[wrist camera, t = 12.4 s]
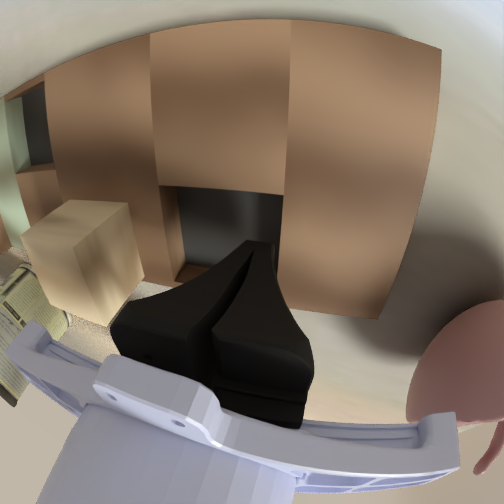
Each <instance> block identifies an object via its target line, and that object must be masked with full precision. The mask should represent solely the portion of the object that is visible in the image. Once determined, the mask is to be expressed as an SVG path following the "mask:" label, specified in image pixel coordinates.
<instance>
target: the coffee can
mask: <svg viewBox="0 0 504 504" xmlns="http://www.w3.org/2000/svg"><path fill="white" fill-rule="evenodd" d="M30 320H34V321H35V322H37V323H39V324H41V325H42V326H44V327H45V328H46V329H47V330H48V332H49V333H50V335H51V336H52V339H54V340H56V341H59V339H60V338H61V337H62V335H63V334H64V333H65V331H66V330H67V329H68V327H70V326H71V324H72V316H71V313H69V312H66V311H64V310H62V309H59V308H57V307H55V306H53V305H51V304H50V302H49V300H48V298H47V297H46V295H45V293H44V291H43V289H42V287H41V285H40V282H39V280H38V278H37V276H36V274H35V272H34V270H33V267H32V265H30V264H27V263H23V264H21V265H20V266H19V267H18V268H17V269H16V270H15V271H14V272H13V273H12V274H11V275H10V276H9V277H8V278H7V279H6V280H5V281H4V282H3V283H2V284H1V285H0V396H1V397H2V398H3V399H4V400H6V401H7V402H8V403H9V404H10V405H11V406H13V407H15V406H16V404H17V401H18V399H19V398H20V396H21V394H22V393H23V391H24V390H25V388H26V386H27V385H28V384H29V381H28V380H27V378H26V377H25V376H24V375H23V374H22V373H21V372H20V371H19V370H18V368H17V367H16V366H15V365H14V364H13V363H12V361H11V360H10V359H9V358H8V357H7V355H6V354H5V351H6V350H7V348H8V347H9V346H10V345H11V343H12V342H13V341H14V339H15V338H16V337H17V336H18V334H19V333H20V332H21V331H22V329H23V328H24V327H25V326H26V325H27V323H28V322H29V321H30Z"/></svg>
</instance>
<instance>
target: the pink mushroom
mask: <svg viewBox="0 0 504 504" xmlns="http://www.w3.org/2000/svg"><path fill="white" fill-rule="evenodd" d="M443 412H455V414H456V421H457V427H460V426H463V425H470V424H479V423H487V422H497V421H499V422H498V425H497V428H496V431H495V433H494V436H493V438H492V441H491V444H490V446H489V448H488V450H487V451H486V453H485V454H484V456H483V457H482V458H481V459H480V460H479V461H478V463H477V464H476V465H475V467H474V470H473V473H474V474H475V475H481V474H483V473H484V472H485V471H486V470H487V468H488V467H489V466H490V465H491V464H492V462H493V461H494V460H495V459H496V458H497V457H498V456H499V454H500V452H501V450H502V448H503V446H504V299H501V300H493V301H488V302H484V303H481V304H478V305H476V306H473V307H471V308H469V309H467V310H466V311H464V312H462V313H461V314H459V315H458V316H456V317H455V318H454V319H453V320H451V321H450V322H449V323H448V324H447V325H446V326H445V327H444V328H443V329H442V330H441V331H440V332H439V333H438V334H437V335H436V336H435V337H434V339H433V340H432V341H431V343H430V344H429V345H428V347H427V348H426V350H425V352H424V353H423V355H422V357H421V359H420V360H419V362H418V365H417V367H416V369H415V372H414V374H413V377H412V380H411V383H410V387H409V391H408V396H407V404H406V419H407V421H408V422H409V423H418V422H419V421H420V420H421V419H422V418H423V417H425V416H427V415H429V414H433V413H443Z"/></svg>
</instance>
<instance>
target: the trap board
mask: <svg viewBox="0 0 504 504" xmlns="http://www.w3.org/2000/svg"><path fill="white" fill-rule="evenodd" d="M441 53H442V50H441V49H438V48H436V47H433V46H430V45H427V44H424V43H421V42H418V41H415V40H412V39H408V38H405V37H401V36H397V35H394V34H390V33H385V32H381V31H377V30H372V29H367V28H362V27H356V26H350V25H344V24H337V23H329V22H320V21H308V20H290V19H250V20H233V21H221V22H212V23H204V24H196V25H190V26H184V27H178V28H173V29H168V30H163V31H159V32H154V33H150V34H146V35H142V36H138V37H135V38H131V39H128V40H124V41H121V42H118V43H115V44H112V45H109V46H106V47H103V48H100V49H97V50H95V51H92V52H89V53H87V54H84V55H82V56H79V57H77V58H75V59H72V60H70V61H68V62H66V63H63V64H61V65H59V66H57V67H55V68H53V69H51V70H49V71H47V72H45V73H43V74H41V75H39V76H37V77H35V78H34V79H32V80H30V81H28V82H26V83H25V84H23V85H21V86H20V87H18V88H16V89H15V90H13V91H11V92H10V93H8V94H7V95H5V96H4V97H2V98H1V99H0V254H4V253H5V252H6V251H7V250H8V249H10V248H11V247H12V246H13V247H16V248H19V249H22V250H25V248H24V246H23V243H22V241H21V238H20V235H22V234H23V233H24V232H26V231H27V230H28V229H29V228H31V227H32V226H33V225H35V224H36V223H37V222H39V221H40V220H41V219H43V218H44V217H45V216H47V215H48V214H50V213H51V212H52V211H54V210H55V209H57V208H58V207H60V206H61V205H63V204H64V203H66V202H67V201H69V200H89V201H108V202H124V203H128V206H129V211H130V216H131V221H132V226H133V231H134V235H135V240H136V244H137V248H138V253H139V257H140V261H141V265H142V269H143V272H144V276H145V277H144V278H143V279H142V280H141V281H145V282H150V283H155V284H159V285H164V286H169V287H173V288H175V287H177V286H179V285H181V284H184V283H186V282H188V281H190V280H192V279H194V278H196V277H197V276H199V275H201V274H203V273H204V272H206V271H207V270H209V269H210V268H212V267H213V266H214V265H216V264H217V263H219V262H220V261H221V260H222V259H224V258H225V257H226V256H228V255H229V254H230V253H231V252H232V251H234V250H235V249H236V248H237V247H238V246H239V245H241V244H242V243H243V242H244V241H246V240H252V241H260V242H267V243H273V244H274V245H275V254H274V266H275V271H276V276H277V280H278V283H279V287H280V290H281V292H282V295H283V298H284V300H285V302H286V304H287V307H288V308H291V309H298V310H305V311H312V312H319V313H327V314H335V315H343V316H351V317H360V318H368V319H378V318H379V316H380V314H381V312H382V309H383V307H384V305H385V302H386V300H387V298H388V295H389V293H390V290H391V288H392V285H393V283H394V280H395V278H396V275H397V272H398V270H399V267H400V264H401V261H402V259H403V256H404V253H405V250H406V247H407V244H408V241H409V238H410V235H411V231H412V228H413V225H414V222H415V218H416V215H417V211H418V207H419V204H420V200H421V196H422V192H423V188H424V184H425V180H426V175H427V171H428V166H429V161H430V156H431V151H432V145H433V139H434V133H435V126H436V119H437V111H438V103H439V92H440V79H441Z"/></svg>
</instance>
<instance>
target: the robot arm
mask: <svg viewBox="0 0 504 504" xmlns="http://www.w3.org/2000/svg"><path fill="white" fill-rule="evenodd" d="M274 254H275V245H274V244H273V243H267V242H260V241H252V240H246V241H244V242H243V243H242V244H241V245H239V246H238V247H237V248H236V249H235V250H234V251H232V252H231V253H230V254H229V255H228V256H226V257H225V258H224V259H222V260H221V261H220V262H219V263H217V264H216V265H214V266H213V267H212V268H210V269H209V270H207V271H206V272H204V273H203V274H201V275H199V276H197V277H196V278H194V279H192V280H190V281H188V282H186V283H184V284H181V285H179V286H177V287H175V288H173V289H170V290H168V291H165V292H162V293H159V294H156V295H153V296H150V297H146V298H142V299H138V300H134V301H129V302H128V303H127V304H126V306H125V307H124V308H123V309H122V311H121V312H120V313H119V315H118V316H117V318H116V319H115V320H114V322H113V323H112V325H111V327H110V333H111V336H112V339H113V341H114V343H115V345H116V347H117V349H118V350H119V352H120V354H121V356H120V355H116V354H110V355H109V356H107V357H106V358H105V360H104V362H103V363H100V362H98V361H95V360H93V359H91V358H89V357H87V356H85V355H83V354H81V353H79V352H77V351H75V350H73V349H71V348H69V347H67V346H65V345H63V344H61V343H59V342H58V341H56V340H54V339H52V336H51V335H50V333H49V332H48V330H47V329H46V328H45V327H44V326H42V325H41V324H39V323H37V322H35V321H34V320H30V321H29V322H28V323H27V325H26V326H25V327H24V328H23V329H22V331H21V332H20V333H19V334H18V336H17V337H16V338H15V339H14V341H13V342H12V343H11V345H10V346H9V347H8V348H7V350H6V351H5V354H6V355H7V357H8V358H9V359H10V360H11V361H12V363H13V364H14V365H15V366H16V367H17V368H18V370H19V371H20V372H21V373H22V374H23V375H24V376H25V377H26V378H27V380H28V381H29V382H30V383H32V384H33V385H34V386H35V387H37V388H38V389H39V390H41V391H42V392H43V393H45V394H46V395H47V396H48V397H50V398H51V399H53V400H54V401H55V402H57V403H58V404H59V405H61V406H62V407H64V408H65V409H67V410H68V411H69V412H71V413H72V414H74V415H75V416H77V417H78V418H79V419H78V421H77V422H76V424H75V425H74V427H73V428H72V430H71V432H70V434H69V436H68V437H67V440H66V442H65V444H64V446H63V449H62V451H61V452H60V454H59V456H58V458H57V460H56V463H55V464H54V466H53V468H52V470H51V472H50V474H49V477H48V478H47V481H46V483H45V485H44V487H43V489H42V491H41V493H40V496H39V498H38V500H37V502H36V504H292V499H293V496H294V492H300V493H354V492H368V491H379V490H388V489H396V488H403V487H410V486H417V485H423V484H426V483H429V482H431V481H433V480H436V479H438V478H440V477H443V476H445V475H447V474H449V473H451V472H453V471H456V470H458V469H459V468H460V453H459V452H460V451H459V440H458V430H457V421H456V414H455V412H443V413H433V414H429V415H427V416H425V417H423V418H422V419H421V420H420V421H419V422H418V423H409V424H354V423H336V422H324V421H314V420H305V419H303V416H304V409H305V404H306V401H307V395H308V390H309V388H310V385H311V383H312V380H313V377H314V360H313V354H312V350H311V346H310V342H309V339H308V338H307V337H306V335H305V334H304V333H303V331H302V330H301V329H300V327H299V326H298V324H297V323H296V321H295V319H294V318H293V316H292V314H291V312H290V310H289V308H288V307H287V304H286V302H285V300H284V298H283V295H282V292H281V290H280V287H279V283H278V280H277V276H276V271H275V266H274Z"/></svg>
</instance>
